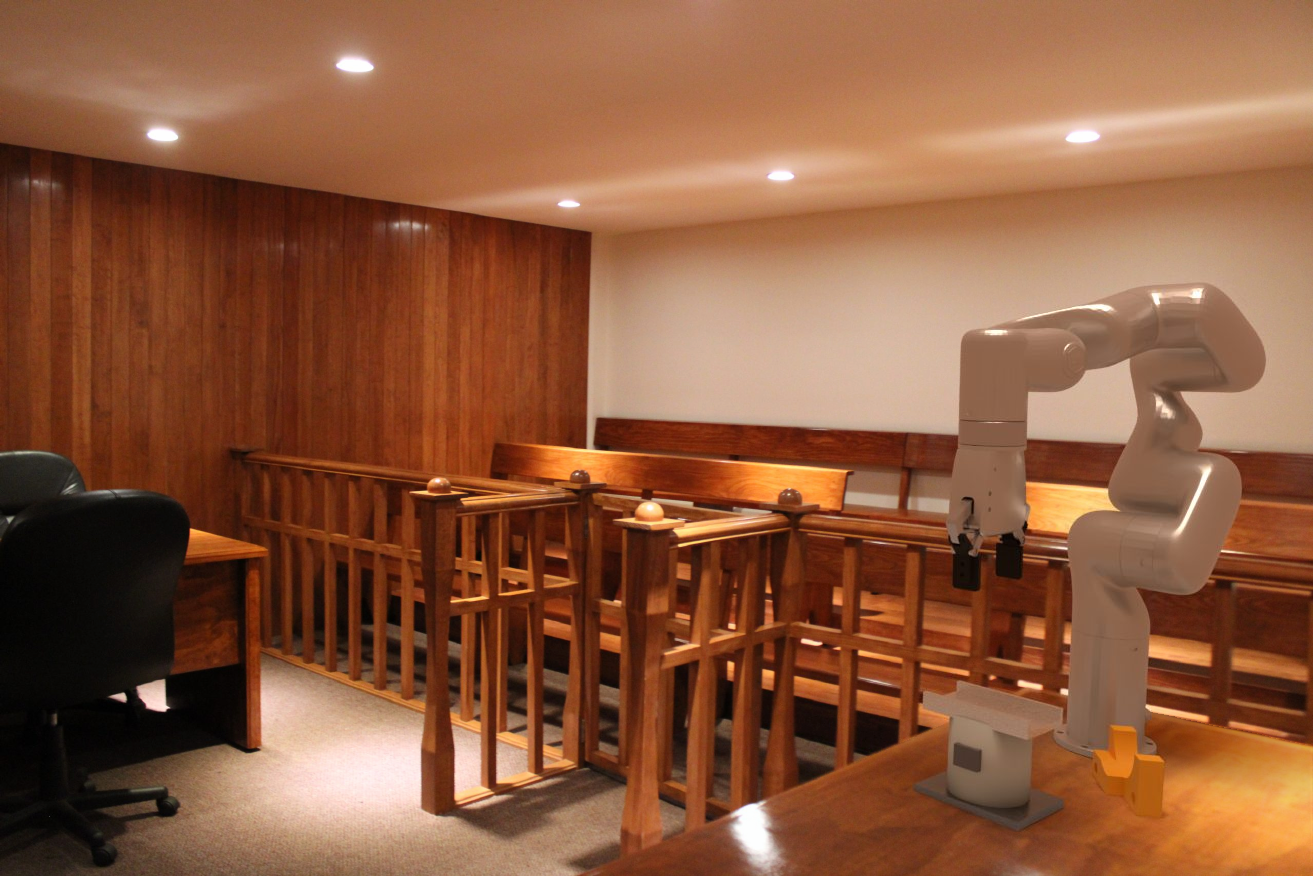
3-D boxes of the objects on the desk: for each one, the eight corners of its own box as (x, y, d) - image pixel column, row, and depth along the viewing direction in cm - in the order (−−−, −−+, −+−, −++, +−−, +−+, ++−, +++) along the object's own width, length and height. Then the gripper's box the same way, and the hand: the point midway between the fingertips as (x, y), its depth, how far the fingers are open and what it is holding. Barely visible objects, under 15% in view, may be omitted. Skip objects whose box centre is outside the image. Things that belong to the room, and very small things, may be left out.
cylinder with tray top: (961, 772, 124) (965, 678, 123) (1063, 807, 114) (1068, 706, 113) (913, 792, 117) (917, 693, 116) (1017, 831, 107) (1022, 723, 107)
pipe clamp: (1091, 775, 124) (1094, 723, 124) (1129, 778, 124) (1132, 726, 123) (1119, 815, 113) (1122, 758, 112) (1161, 819, 112) (1164, 762, 112)
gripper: (999, 431, 125) (995, 569, 126) (922, 437, 113) (918, 589, 115) (1058, 435, 120) (1053, 578, 121) (984, 441, 108) (979, 600, 109)
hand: (988, 583), depth 118 cm, fingers open, 9 cm apart
